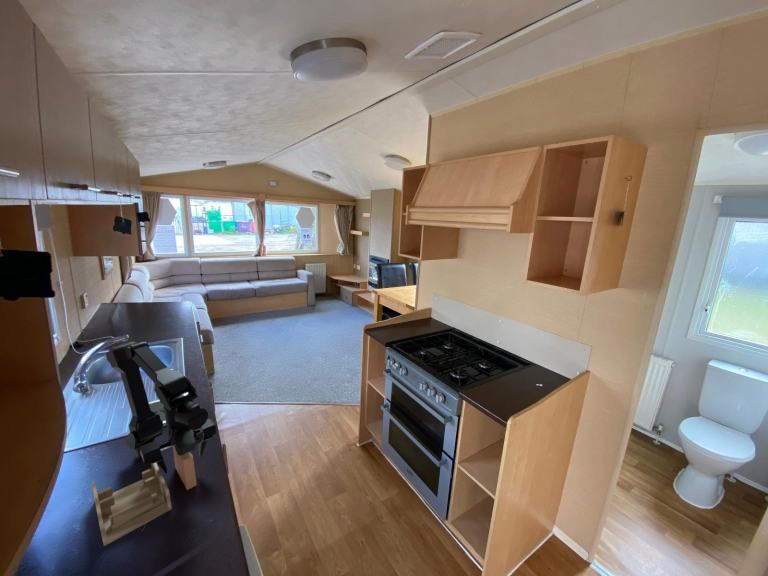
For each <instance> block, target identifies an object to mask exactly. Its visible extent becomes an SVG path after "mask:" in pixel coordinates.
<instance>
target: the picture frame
mask: <svg viewBox="0 0 768 576" xmlns="http://www.w3.org/2000/svg"><path fill="white" fill-rule="evenodd" d="M187 394H189V393H188V392H187V393H185V394H183V395H181V396H179V397H183V396H185V395H187ZM148 402H149V401H148ZM149 405H150V409H151V411H153V412H154V413H156V414H158V415H160V419H161V420H162V421H163V428H164V427H167V426H166V419H165V412H164V405H163V404H162V403H160V400H159V399H156V400H153V401H150V402H149Z"/></svg>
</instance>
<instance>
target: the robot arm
mask: <svg viewBox="0 0 768 576" xmlns="http://www.w3.org/2000/svg"><path fill="white" fill-rule="evenodd" d="M105 357H106V360H107V362H108V363H109V364H110V366H111V368H113V370H115V371H116V372H118V373H119V374H120V376H121V380H122V383H123V387H124V390H125V395H126V398H127V401H128V404H129V408H130V411H131V412H130V413H131V416H132V417H131V419H130V421H129V423H128V430H129V433H128V434H127V435H126V438H125V439H124V441H125V443H126V445H127V447H129V448H131V449H132V450H134V451H135V455H136V456H135V457H136V459H137V460H138V461H143V464H144V465H148V464H151V465H152V464H153V463H157V465H158V466H160V467H159V468H161V470H163V472H164V473H165V474H168V469H167V466H166V462H165V459H164V456H163V455H162V451H165V450H167V449H169V448H173V447H172V446H175V449H176V451H177V454H178V455H179V456H181V455H184V454H185V453H187V452H189V451H190V452H193V451H195V450H196V449H198V455H199V457H200V458H202V457H203V455H204V450H205V447H206V444H207V442H208V440H210V439H212V438H213V437H214V435H216V434H218V426H217V424H216V423H215V422H214V421H213V420H212V419H211V418H209V413H208V411H207V409H206V408H204V407H201V405H200V404H199V403H196V402H194V400H195V399H197V398H198V397H199V396H198V394H197V390H196V388H195V387H194V385H193V384H192V383H191V381H190V379H189V377H187V376H185V375H184V374H183V373H182V372H180V371H179V370H174V369H171V368H169V367H168V366H167V365H166V363H164V362H163V361H162V360H161V358H159V356H158V355H156V353H155V352H154V351H153V350H152V349H151V348H150V345H149V343H148V342H147V341H140V342H136V341H133V340H132V341H129V342H125V343H122V344H119V345H115V346H112V347H109V349H108V351H107V352H106V353H105ZM140 369H141V370H142V371H143V372H144V373H145V375H146V376H148V378H149V379H150V380H151V381H152V382H153V383H154V386H153V387H154V389H153V391H154V393H155V395H156V397H157V400H160V403H162V404H163V405H164V412H165V419H166V426H165V427H166V433H167V438H168V440H166V441H164V442H161V443H158V441H157V438H158V437H160V436H162V435H163V433H164V427H163V421H162V420H161V419H160V415H158V414H156V413H154V412H153V411H151V409H150V405H149V399H148V394H147V391H146V388H145V385H144V384H145V383H144V380H143V377H142V373H141V371H140ZM187 392H188V394H187V395H185V396H183V397H179V396H181V395H183V394H185V393H187ZM197 447H198V448H197Z"/></svg>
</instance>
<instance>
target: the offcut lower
mask: <svg viewBox="0 0 768 576" xmlns="http://www.w3.org/2000/svg"><path fill="white" fill-rule="evenodd" d="M151 496H152V501H153V505H152V506H150V507H148V508H146V509H144V510H142V511H140V512H138V513H137V514H135V515H133V516H131V517H129V518H127V519H125V520H123V521H121V522H119V523H117V524H115V525H114V522H113V517H112V515H111V516H109V517H110V522H111V526H112V531H113V530H115V529H117V528H119V527H121V526H123V525H125V524H126V523H128V522H130V521H132V520H134V519H136V518H138V517H140V516H142V515H143V514H145V513H147V512H149V511H151V510H153V509H155V508H157V507H159V506H160V500H159V498H158V495H157V493H155V494H153V495H151Z"/></svg>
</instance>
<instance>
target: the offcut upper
mask: <svg viewBox="0 0 768 576" xmlns="http://www.w3.org/2000/svg"><path fill="white" fill-rule="evenodd" d="M152 505H153V501H152V496H151V493H150V491H149V488H148V489H146V490H144V491H142V492H140V493H138V494H136V495H134V496H131V497H129V498H127V499H125V500H123V501H121V502H119V503H117V504H115V505H113V506H111V507H110V508H111V513H112V517H113V522H114V525H115V524H117V523H119V522H121V521H123V520H125V519H127V518H129V517H131V516H133V515H135V514H137V513H138V512H140V511H142V510H144V509H146V508H148V507H150V506H152Z"/></svg>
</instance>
